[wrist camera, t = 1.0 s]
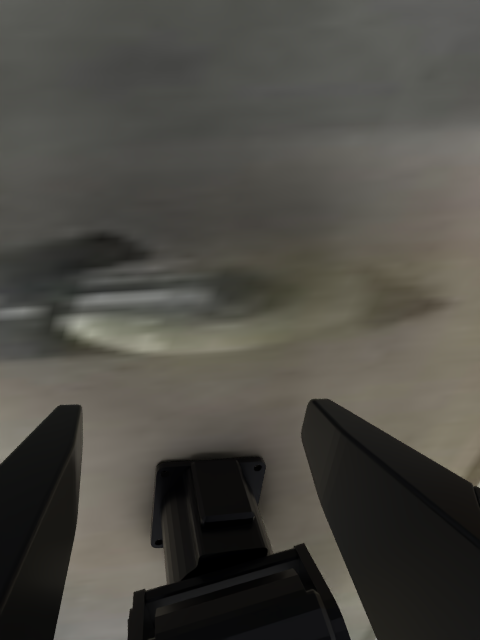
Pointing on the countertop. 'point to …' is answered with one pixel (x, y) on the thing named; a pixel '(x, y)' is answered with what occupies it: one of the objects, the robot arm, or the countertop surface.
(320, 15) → the countertop surface
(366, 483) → the robot arm
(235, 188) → the countertop surface
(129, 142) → the countertop surface
